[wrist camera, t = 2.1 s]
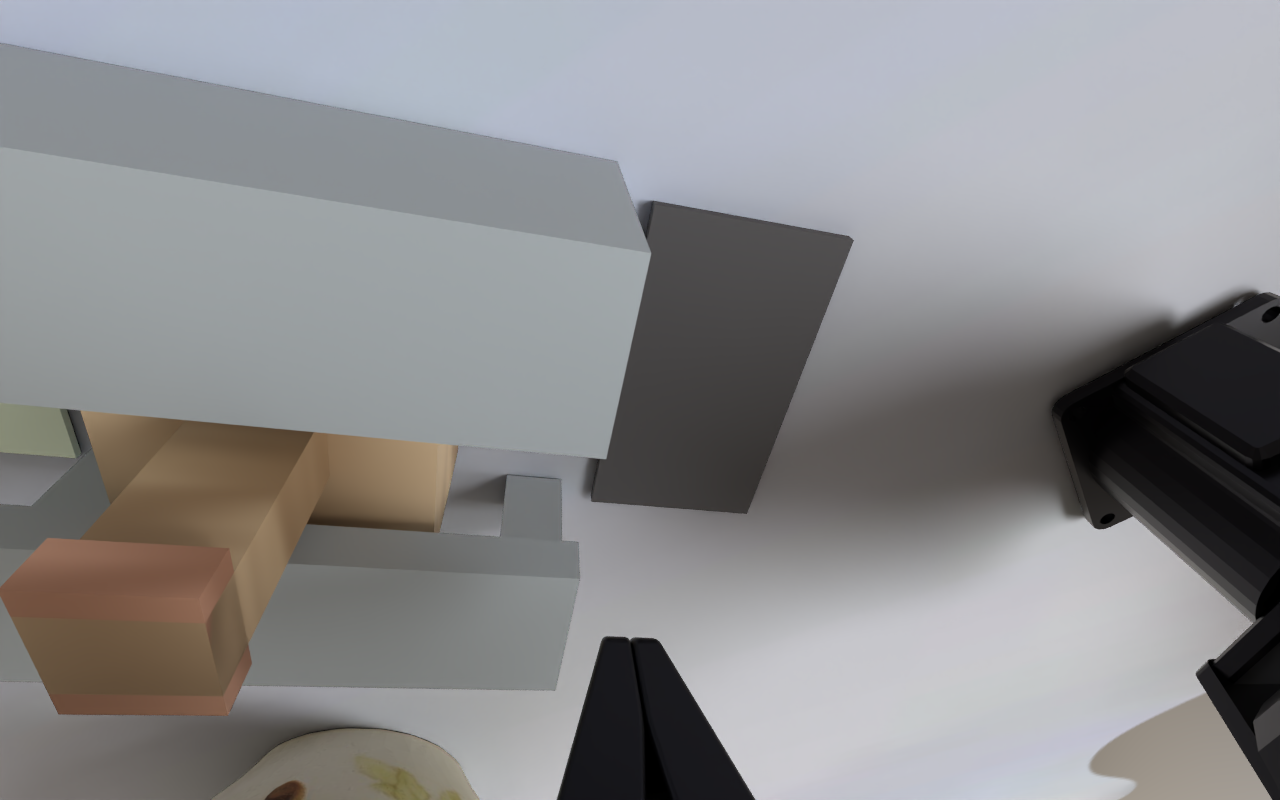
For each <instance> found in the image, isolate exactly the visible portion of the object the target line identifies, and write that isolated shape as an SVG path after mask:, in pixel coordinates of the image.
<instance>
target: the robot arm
mask: <svg viewBox="0 0 1280 800" xmlns="http://www.w3.org/2000/svg"><path fill="white" fill-rule="evenodd" d="M1052 416H1053V419H1054V422H1055V425H1056V428H1057V432H1058V435H1059V438H1060V441H1061V444H1062V447H1063V450H1064V454H1065V457H1066V460H1067V463H1068V466H1069V469H1070V472H1071V476H1072V479H1073V482H1074V485H1075V488H1076V491H1077V494H1078V498H1079V501H1080V504H1081V507H1082V510H1083V513H1084V516H1085V518H1086V520H1087V521H1088V522H1089V523H1090V524H1091V525H1092V526H1093V527H1094V528H1096V529H1106V528H1108V527H1111V526H1113V525H1115V524H1117V523H1119V522H1122V521H1124V520H1126V519H1128V518H1130V517H1132V516H1134V517H1135V518H1136V519H1137V520H1138V521H1139V522H1141V523H1142V524H1143V525H1144V526H1145V527H1146V528H1147V529H1148V530H1150V531H1151V532H1152V533H1153V534H1154V535H1155V536H1156V537H1157V538H1158V539H1160V540H1161V541H1162V542H1163V543H1164V544H1165V545H1166V546H1167V547H1169V548H1170V549H1171V550H1172V551H1173V552H1174V553H1175V554H1176V555H1178V556H1179V557H1180V558H1181V559H1182V560H1183V561H1184V562H1185V563H1186V564H1188V565H1189V566H1190V567H1191V568H1192V569H1193V570H1194V571H1195V572H1197V573H1198V574H1199V575H1200V576H1201V577H1202V578H1203V579H1204V580H1206V581H1207V582H1208V583H1209V584H1210V585H1211V586H1212V587H1213V588H1214V589H1216V590H1217V591H1218V592H1219V593H1220V594H1221V595H1222V596H1223V597H1225V598H1226V599H1227V600H1228V601H1229V602H1230V603H1231V604H1232V605H1234V606H1235V607H1236V608H1237V609H1238V610H1239V611H1240V612H1241V613H1243V614H1244V615H1245V616H1246V617H1247V618H1248V619H1249V620H1250V621H1251V622H1253V624H1252V625H1251V626H1250V627H1249V628H1248V629H1247V630H1246V631H1245V632H1244V633H1243V634H1242V635H1241V636H1240V637H1239V638H1238V639H1236V640H1235V641H1234V642H1233V643H1232V644H1231V645H1230V646H1229V647H1228V648H1227V649H1226V650H1225V651H1224V652H1223V653H1222V654H1221V655H1220V656H1219V657H1218V658H1217V659H1210V660H1208V661H1207V662H1206V663H1205V664H1204V665H1203V666H1202V667H1201V668H1200V669H1199V670H1198V671H1197V672H1196V676H1197V678H1198V680H1199V681H1200V683H1201V685H1202V686H1203V688H1204V689H1205V691H1206V693H1207V694H1208V696H1209V698H1210V699H1211V701H1212V702H1213V704H1214V706H1215V707H1216V709H1217V711H1218V712H1219V714H1220V715H1221V716H1222V719H1223V720H1224V722H1225V724H1226V725H1227V727H1228V728H1229V730H1230V732H1231V733H1232V735H1233V736H1234V738H1235V740H1236V741H1237V743H1238V745H1239V746H1240V748H1241V749H1242V751H1243V753H1244V754H1245V756H1246V757H1247V759H1248V761H1249V762H1250V764H1251V766H1252V767H1253V769H1254V771H1255V772H1256V774H1257V775H1258V777H1259V779H1260V780H1261V782H1262V783H1263V785H1264V787H1265V788H1266V790H1267V792H1268V793H1269V795H1270V796H1271V798H1272V800H1280V296H1278V295H1275V294H1273V293H1270V292H1269V293H1262V294H1259V295H1257V296H1255V297H1253V298H1251V299H1249V300H1247V301H1245V302H1243V303H1241V304H1239V305H1238V306H1236V307H1234V308H1232V309H1230V310H1228V311H1226V312H1224V313H1222V314H1220V315H1218V316H1217V317H1215V318H1213V319H1211V320H1209V321H1207V322H1205V323H1203V324H1201V325H1199V326H1197V327H1195V328H1194V329H1192V330H1190V331H1188V332H1186V333H1184V334H1182V335H1180V336H1178V337H1176V338H1174V339H1173V340H1171V341H1169V342H1167V343H1165V344H1163V345H1161V346H1159V347H1157V348H1155V349H1153V350H1151V351H1150V352H1148V353H1146V354H1144V355H1142V356H1140V357H1138V358H1136V359H1134V360H1132V361H1130V362H1129V363H1127V364H1125V365H1123V366H1121V367H1119V368H1117V369H1115V370H1113V371H1111V372H1109V373H1107V374H1106V375H1104V376H1102V377H1100V378H1098V379H1096V380H1094V381H1092V382H1090V383H1088V384H1086V385H1085V386H1083V387H1081V388H1079V389H1077V390H1075V391H1073V392H1071V393H1069V394H1067V395H1065V396H1064V397H1062V398H1061V399H1059V400H1058V402H1057V403H1056V404H1055V405H1054V407H1053V409H1052ZM557 800H755V798H754V797H753V795H752V793H751V792H750V790H749V788H748V787H747V785H746V783H745V782H744V780H743V778H742V777H741V775H740V773H739V772H738V770H737V769H736V767H735V765H734V764H733V762H732V760H731V759H730V757H729V755H728V754H727V752H726V750H725V749H724V747H723V745H722V744H721V742H720V740H719V739H718V737H717V735H716V734H715V732H714V731H713V729H712V727H711V726H710V724H709V722H708V721H707V719H706V717H705V716H704V714H703V712H702V711H701V709H700V707H699V706H698V704H697V702H696V701H695V699H694V697H693V696H692V694H691V693H690V691H689V689H688V688H687V686H686V684H685V683H684V681H683V679H682V678H681V676H680V674H679V673H678V671H677V669H676V668H675V666H674V664H673V663H672V661H671V659H670V658H669V656H668V654H667V653H666V651H665V650H664V648H663V646H662V645H661V643H660V642H659V641H658V640H657V639H654V638H636V637H635V638H632V639H631V640H629V639H628V638H626V637H610V636H606V637H604V638H603V639H602V641H601V645H600V648H599V652H598V655H597V659H596V662H595V666H594V670H593V673H592V677H591V680H590V684H589V687H588V691H587V694H586V698H585V702H584V705H583V709H582V712H581V716H580V719H579V723H578V726H577V730H576V733H575V737H574V741H573V744H572V748H571V751H570V755H569V758H568V762H567V765H566V769H565V772H564V776H563V780H562V783H561V787H560V790H559V794H558V797H557Z"/></svg>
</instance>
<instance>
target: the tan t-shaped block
mask: <svg viewBox="0 0 1280 800" xmlns="http://www.w3.org/2000/svg"><path fill="white" fill-rule="evenodd" d="M80 411H81V414H82V417H83V421H84V424H85V427H86V430H87V433H88V436H89V439H90V442H91V445H92V449H93V452H94V455H95V458H96V461H97V464H98V467H99V470H100V474H101V477H102V480H103V483H104V486H105V489H106V492H107V495H108V498H109V502H110V506H109V507H108V508H107V509H106V510H105V511H104V513H103V514H102V515H101V516H100V517H99V518H98V519H97V520H96V522H95V523H94V524H93V525H92V526H91V527H90V528H89V529H88V531H87V532H86V533H85V534H84V535H83V536H82V537H81V538H80V539H79V540H76V539H58V538H47V539H46V540H45V541H44V542H43V543H42V544H41V545H40V546H39V547H38V548H37V549H36V550H35V551H34V552H33V553H32V554H31V556H30V557H29V558H28V559H27V560H26V561H25V562H24V563H23V564H22V565H21V566H20V567H19V568H18V569H17V570H16V571H15V572H14V573H13V574H12V575H11V576H10V577H9V579H8V580H7V581H6V582H5V583H4V584H3V585H2V586H1V587H0V597H1V599H2V601H3V603H4V605H5V607H6V609H7V611H8V613H9V615H10V617H11V619H12V621H13V623H14V625H15V627H16V629H17V631H18V633H19V635H20V637H21V639H22V641H23V643H24V645H25V647H26V649H27V651H28V653H29V655H30V657H31V659H32V662H33V664H34V666H35V668H36V670H37V672H38V674H39V676H40V678H41V680H42V682H43V684H44V686H45V688H46V690H47V692H48V694H49V696H50V698H51V700H52V702H53V704H54V706H55V708H56V710H57V712H58V714H72V715H207V716H228V714H229V712H230V710H231V708H232V706H233V704H234V701H235V699H236V697H237V695H238V693H239V691H240V689H241V686H242V684H243V682H244V680H245V678H246V676H247V673H248V671H249V669H250V667H251V665H252V660H251V655H250V650H249V645H248V644H249V642H250V640H251V638H252V636H253V634H254V632H255V629H256V627H257V625H258V623H259V621H260V619H261V617H262V615H263V613H264V611H265V609H266V607H267V605H268V603H269V600H270V598H271V596H272V594H273V592H274V590H275V588H276V586H277V584H278V582H279V580H280V578H281V576H282V574H283V572H284V569H285V567H286V565H287V563H288V561H289V559H290V557H291V555H292V553H293V551H294V549H295V547H296V545H297V543H298V541H299V538H300V536H301V534H302V532H303V530H304V528H305V526H306V524H311V525H326V526H342V527H357V528H373V529H388V530H403V531H419V532H434V533H440V528H441V524H442V519H443V515H444V510H445V506H446V501H447V497H448V493H449V488H450V484H451V479H452V475H453V470H454V466H455V461H456V457H457V452H458V445H447V444H436V443H426V442H415V441H404V440H393V439H383V438H372V437H361V436H350V435H340V434H329V433H318V432H307V431H297V430H286V429H275V428H264V427H254V426H243V425H232V424H222V423H211V422H200V421H189V420H179V419H168V418H157V417H146V416H136V415H125V414H114V413H103V412H93V411H82V410H80Z"/></svg>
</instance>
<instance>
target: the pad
mask: <svg viewBox="0 0 1280 800" xmlns="http://www.w3.org/2000/svg"><path fill="white" fill-rule="evenodd" d="M0 452H3V453H16V454H28V455H41V456H54V457H66V458H77V457H78V456H79V455H80V454H81V451H80V448H79V445H78V442H77V439H76V436H75V433H74V430H73V427H72V424H71V421H70V418H69V415H68V412H67V409H60V408H50V407H39V406H28V405H17V404H7V403H0Z"/></svg>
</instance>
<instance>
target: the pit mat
mask: <svg viewBox="0 0 1280 800" xmlns="http://www.w3.org/2000/svg"><path fill="white" fill-rule="evenodd" d="M645 238H646V240H647V243H648V246H649V248H650V251H651V257H650V261H649V266H648V271H647V275H646V280H645V284H644V289H643V293H642V298H641V302H640V307H639V312H638V316H637V321H636V325H635V330H634V334H633V339H632V343H631V348H630V353H629V357H628V362H627V366H626V371H625V375H624V380H623V385H622V389H621V394H620V398H619V403H618V407H617V412H616V416H615V421H614V426H613V430H612V435H611V439H610V444H609V448H608V453H607V457H606V459H599V460H598V464H597V469H596V474H595V479H594V483H593V488H592V493H591V501H592V502H604V503H617V504H630V505H643V506H655V507H668V508H681V509H693V510H706V511H719V512H731V513H744V514H747V512H748V509H749V507H750V504H751V502H752V499H753V496H754V494H755V491H756V489H757V486H758V484H759V481H760V479H761V476H762V473H763V471H764V468H765V466H766V463H767V461H768V458H769V456H770V453H771V450H772V448H773V445H774V443H775V440H776V438H777V435H778V432H779V430H780V427H781V425H782V422H783V420H784V417H785V415H786V412H787V409H788V407H789V404H790V402H791V399H792V397H793V394H794V392H795V389H796V386H797V384H798V381H799V379H800V376H801V374H802V371H803V369H804V366H805V363H806V361H807V358H808V356H809V353H810V351H811V348H812V345H813V343H814V340H815V338H816V335H817V333H818V330H819V328H820V325H821V322H822V320H823V317H824V315H825V312H826V310H827V307H828V305H829V302H830V299H831V297H832V294H833V292H834V289H835V287H836V284H837V281H838V279H839V276H840V274H841V271H842V269H843V266H844V264H845V261H846V258H847V256H848V253H849V251H850V248H851V246H852V243H853V241H854V240H853V239H852V238H850V237H849V236H844V235H839V234H833V233H828V232H822V231H817V230H811V229H806V228H800V227H795V226H789V225H784V224H778V223H773V222H767V221H762V220H756V219H751V218H745V217H740V216H734V215H729V214H723V213H718V212H712V211H707V210H701V209H695V208H690V207H684V206H679V205H673V204H668V203H662V202H657V201H653V204H652V209H651V214H650V218H649V223H648V228H647V233H646V237H645Z"/></svg>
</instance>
